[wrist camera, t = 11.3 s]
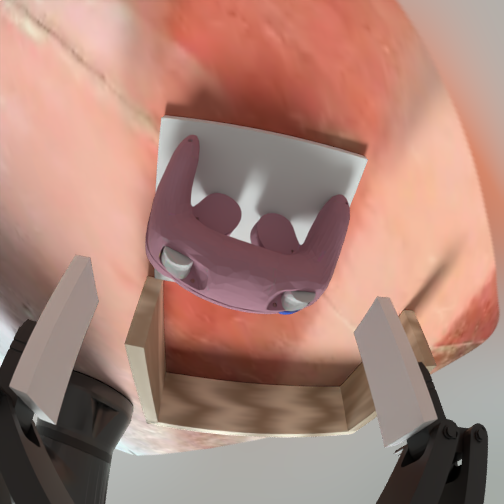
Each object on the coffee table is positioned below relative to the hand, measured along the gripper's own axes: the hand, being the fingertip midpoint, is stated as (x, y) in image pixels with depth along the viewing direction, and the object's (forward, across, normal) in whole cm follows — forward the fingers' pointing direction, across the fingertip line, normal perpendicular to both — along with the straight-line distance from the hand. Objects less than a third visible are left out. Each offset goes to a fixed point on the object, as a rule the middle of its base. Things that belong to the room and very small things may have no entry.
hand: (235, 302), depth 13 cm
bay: (+6, +6, -14) cm, 16 cm away
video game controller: (+6, 0, +2) cm, 6 cm away
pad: (+6, +1, 0) cm, 6 cm away
